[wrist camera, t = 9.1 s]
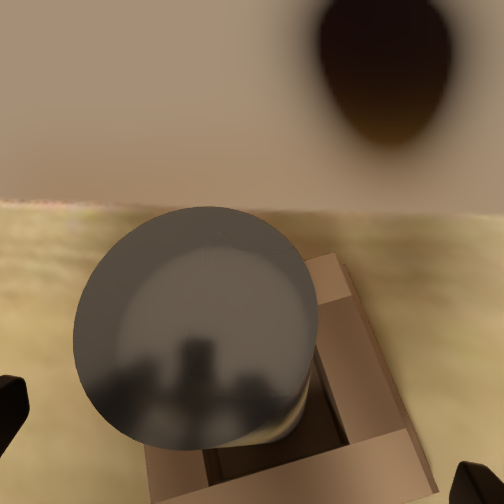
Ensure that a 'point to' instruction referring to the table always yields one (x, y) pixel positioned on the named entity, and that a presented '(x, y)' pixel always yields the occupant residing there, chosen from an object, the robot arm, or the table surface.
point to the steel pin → (199, 332)
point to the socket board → (316, 428)
